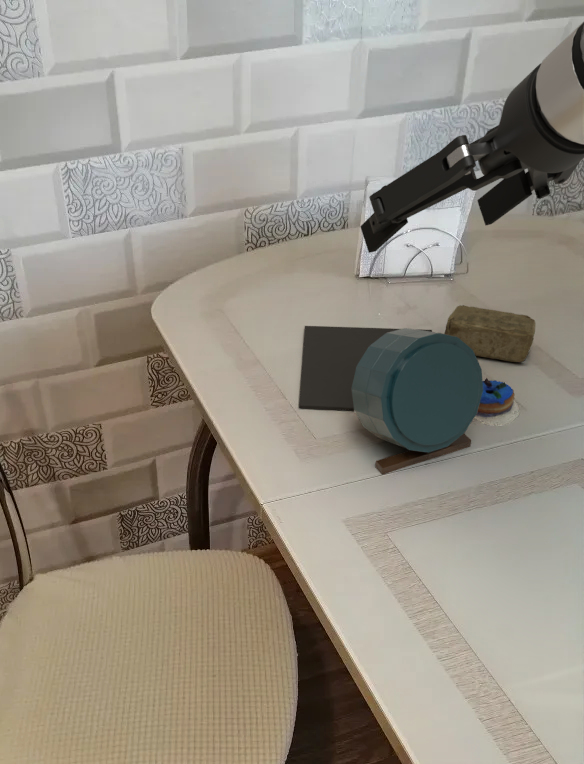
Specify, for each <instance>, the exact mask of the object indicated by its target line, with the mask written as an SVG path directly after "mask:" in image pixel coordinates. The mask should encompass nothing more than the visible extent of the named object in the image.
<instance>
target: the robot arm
mask: <svg viewBox="0 0 584 764" xmlns="http://www.w3.org/2000/svg"><path fill="white" fill-rule="evenodd" d="M583 159H584V21H583V22H582V23H580V24H579V25H578V26H577V27H575V29H574V30H573V31H572V32H570V34H568V36H567V37H565V38H564V39H563V40H562V41H561V42H560V43H559V44H558V45H556V47H555V48H554V49H552V50H551V51H550V52H549V53H548V54H547V55H546V57H545V58H544V59H543V60H542V61H541V62H540V63H539V64H538V65H536V66H535V68H534V69H533V70H531V72H530V73H528V74H527V76H525V77H524V78H523V79H522V80H521V81H520V82H519V83H518V84H517V85H516V86H515V87H514V88H513V89H512V90H511V91H510V92H509V94H508V95H507V97H506V99H505V101H504V104H503V107H502V111H501V116H500V120H499V123H498V125H496V126H494V127H492V128H490V129H489V130H487V132H486V133H485V134H484V135H483V136H482V137H480V138H478V139H476V140H474V141H472V142H469V139H468V136H467V134H462V135H458V136H456V137H455V138H454V139H452V140H451V141H450V142H449V143H448V144H446V145H445V146H444V147H443V148H442V149H441V150H439V151H438V152H436V153H434V154H433V155H431V156H430V157H429V158H426V160H424V161H422V162H421V163H419V164H417V165H416V166H414V167H413V168H411V169H410V170H408V171H406V172H405V173H404V174H402V175H400V176H399V177H397V178H396V179H394V180H393V181H391V182H389V183H388V184H385V185H383V186H382V187H381V188H380V189H378V190H377V191H375V192H373V193H372V194H371V195H370V196H369V201H370V204H371V207H372V211H373V213H372V214H371V215H370V216H369V217H368V218H367V219H365V221H364V222H363V223H362V224H361V225H360V227H359V228H360V230H361V234H362V236H363V239H364V243H365V245H366V248H367V251H368V254H371V253H376V252H377V251H378V250H379V249H380V248H381V247H383V245H384V244H386V243H387V242H388V241H389V240H390V239H391V238H393V236H395V235H396V234H397V233H398V232H399V231H400V230H402V228H404V227H405V226H406V225H407V224H408V223H409V221H408V218H410V217H412V216H415V215H417V214H419V213H421V212H423V211H424V210H427V209H429V208H431V207H432V206H435V205H437V204H439V203H441V202H443V201H445V200H447V199H449V198H452V197H453V196H455V195H456V194H459V193H461V192H463V191H465V190H467V189H469V190H471V191H475V192H476V191H479V190H480V189H482V188H484V187H486V186H488V185H490V184H492V183H495V182H497V181H499V180H500V181H499V182H498V183H497V184H496V185H494V186H493V187H491V189H490V190H488V191H487V192H485V194H483V195H482V196H481V197H479V198H478V199H477V200H476V201H477V204H478V207H479V210H480V214H481V216H482V219H483V220H482V221H483V222H484V225H485V226H489V225H492V224H494V223H496V222H497V221H498V220H499V219H501V218H502V217H503V216H505V215H506V214H507V213H509V212H511V211H512V210H513V209H514V208H516V207H517V206H519V205H520V204H521V203H522V202H524V201H525V200H527V199H528V198H530V197H531V196H532V195H533V191H534V193H535V196H536V199H537V200H541V199H543V198H545V197H548V196H549V195H550V194H551V190H550V186H549V182H551V181H553V183H554V185H561V184H564V183H565V182H566V181H568V180H569V178H570V177H571V175H572V174H573V173H574V171H575V170H576V168H577V167H578V165H580V163H581V161H582V160H583ZM476 162H478V165H479V169H480V172H481V174H482V176H479V178H477V175H476V172H475V169H474V168H475V167H476V166H477V163H476ZM526 170H527V171H526ZM501 179H502V180H501Z"/></svg>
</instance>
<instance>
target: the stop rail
mask: <svg viewBox="0 0 584 764" xmlns="http://www.w3.org/2000/svg"><path fill="white" fill-rule="evenodd" d="M472 441H473V440H472V439H471V438H470V437H469V436H468V435H467V434H465V433H464V434H463V435H461V436H460V437H459V438H458V439H456V440H455V441H454V442H453V443H451V444H450V445H449V446H448V447H445V448H442V449H438V450H435V451H432V452H429V453H428V452H420V451H413V450H406V451H403V452H400V453H397V454H393V455H389V456H387V457H383V458H381V459H377V460H376V461H375V465H374V468H375V469H376V470H377V471H378V472H379V473H380V475H381V476H383V475H387V474H389V473H392V472H395V471H398V470H402V469H404V468H405V469H406V468H407V467H410V466H411V467H412V466H414V465H417V464H420V463H423V462H426V461H430V460H432V459H436V458H439V457H442V456H445V455H449V454H452V453H454V452H458V451H462V450H465V449H467V448H471V445H472Z"/></svg>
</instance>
